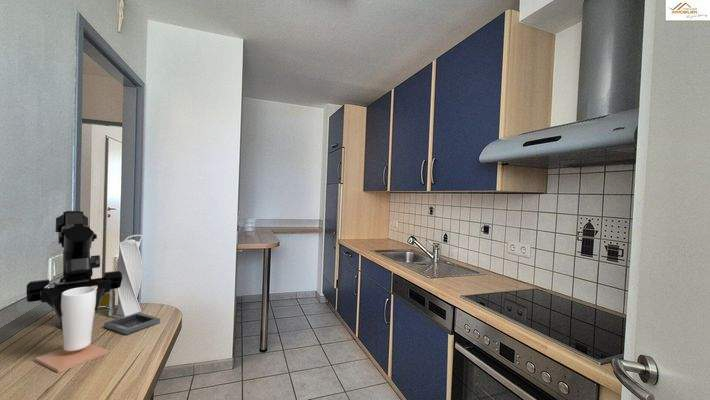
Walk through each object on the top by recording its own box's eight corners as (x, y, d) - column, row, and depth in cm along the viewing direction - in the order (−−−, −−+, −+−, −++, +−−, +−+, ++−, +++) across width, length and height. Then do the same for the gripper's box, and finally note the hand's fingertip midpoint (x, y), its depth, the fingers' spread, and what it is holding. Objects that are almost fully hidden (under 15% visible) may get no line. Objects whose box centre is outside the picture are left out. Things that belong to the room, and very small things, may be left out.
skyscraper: (132, 308, 111) (134, 233, 111) (147, 311, 108) (148, 235, 108) (107, 316, 103) (108, 236, 103) (122, 320, 100) (123, 237, 100)
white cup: (65, 357, 73) (66, 297, 73) (55, 348, 77) (56, 291, 76) (99, 345, 79) (101, 290, 79) (88, 337, 83) (90, 284, 82)
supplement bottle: (98, 308, 110) (98, 282, 110) (116, 305, 113) (116, 280, 113) (94, 313, 106) (95, 286, 106) (113, 310, 108) (114, 284, 109)
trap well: (104, 327, 94) (104, 322, 94) (138, 316, 103) (138, 312, 103) (126, 335, 89) (126, 330, 89) (159, 323, 98) (160, 318, 98)
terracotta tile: (34, 360, 75) (35, 357, 75) (84, 343, 84) (84, 341, 84) (58, 372, 70) (58, 369, 70) (108, 353, 79) (108, 350, 79)
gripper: (27, 250, 74) (23, 306, 66) (122, 243, 87) (127, 289, 79) (28, 275, 79) (25, 329, 72) (117, 265, 93) (122, 310, 85)
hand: (78, 313), depth 77 cm, fingers closed on white cup, 7 cm apart
